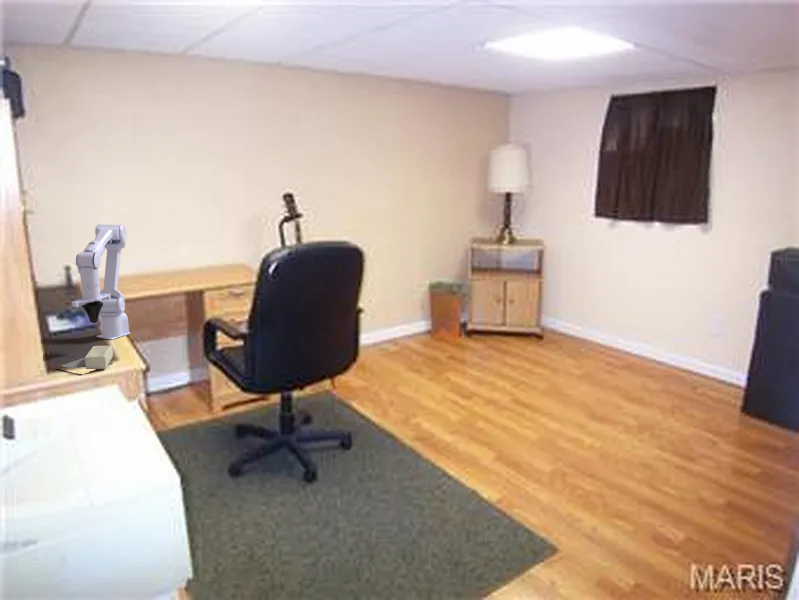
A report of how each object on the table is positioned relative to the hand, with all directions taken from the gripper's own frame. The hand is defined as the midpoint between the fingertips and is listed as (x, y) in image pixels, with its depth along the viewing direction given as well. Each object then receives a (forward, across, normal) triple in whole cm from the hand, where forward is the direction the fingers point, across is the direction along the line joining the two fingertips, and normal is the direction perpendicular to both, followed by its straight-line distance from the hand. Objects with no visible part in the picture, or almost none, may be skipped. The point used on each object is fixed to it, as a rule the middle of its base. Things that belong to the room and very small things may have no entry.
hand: (94, 322), depth 206 cm
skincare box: (+8, -6, -10) cm, 14 cm away
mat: (+10, -14, -11) cm, 21 cm away
